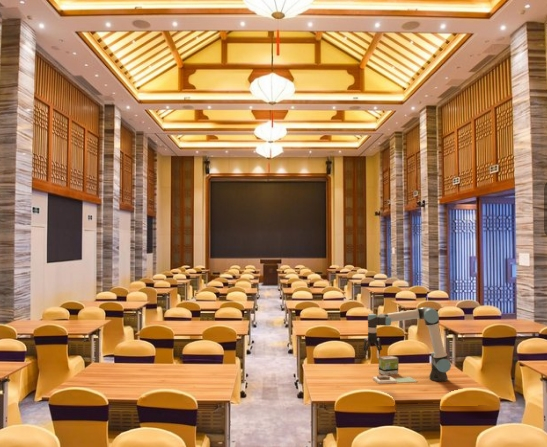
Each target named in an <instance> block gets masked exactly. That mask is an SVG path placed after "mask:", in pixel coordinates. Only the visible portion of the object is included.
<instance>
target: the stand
mask: <svg viewBox="0 0 547 447" xmlns="http://www.w3.org/2000/svg"><path fill="white" fill-rule="evenodd" d="M388 376H389V377H390V379H388V380H379V379H378V378H377V376H372V380H374V381H375V382H376V383H377V384H379V385H381V384H397V380H395V379H394V378H395V377H392V376H391V375H388Z"/></svg>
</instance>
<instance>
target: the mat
mask: <svg viewBox="0 0 547 447" xmlns="http://www.w3.org/2000/svg"><path fill="white" fill-rule="evenodd" d="M393 378H394V379H395V380H397V383H398V384H400V383H401V384H403V383H418V381H417V379H414V378H412V377H411V376H403V377H402V376H401V377H400V376H399V377H393ZM397 383H396V384H397Z"/></svg>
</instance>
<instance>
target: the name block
mask: <svg viewBox="0 0 547 447" xmlns="http://www.w3.org/2000/svg"><path fill="white" fill-rule="evenodd" d="M389 376H390V375H382V374H381V375H380V374H379V375H376V377H377V378H378V379H379V380H388V379H390V377H389Z"/></svg>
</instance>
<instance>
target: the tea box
mask: <svg viewBox="0 0 547 447" xmlns="http://www.w3.org/2000/svg"><path fill="white" fill-rule="evenodd" d="M378 374H379V375H380V374H381V375H387V376H391V375H392V376H393V375H399V357H397V356H394V355H388V356H387V355H386V356H379V359H378Z"/></svg>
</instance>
